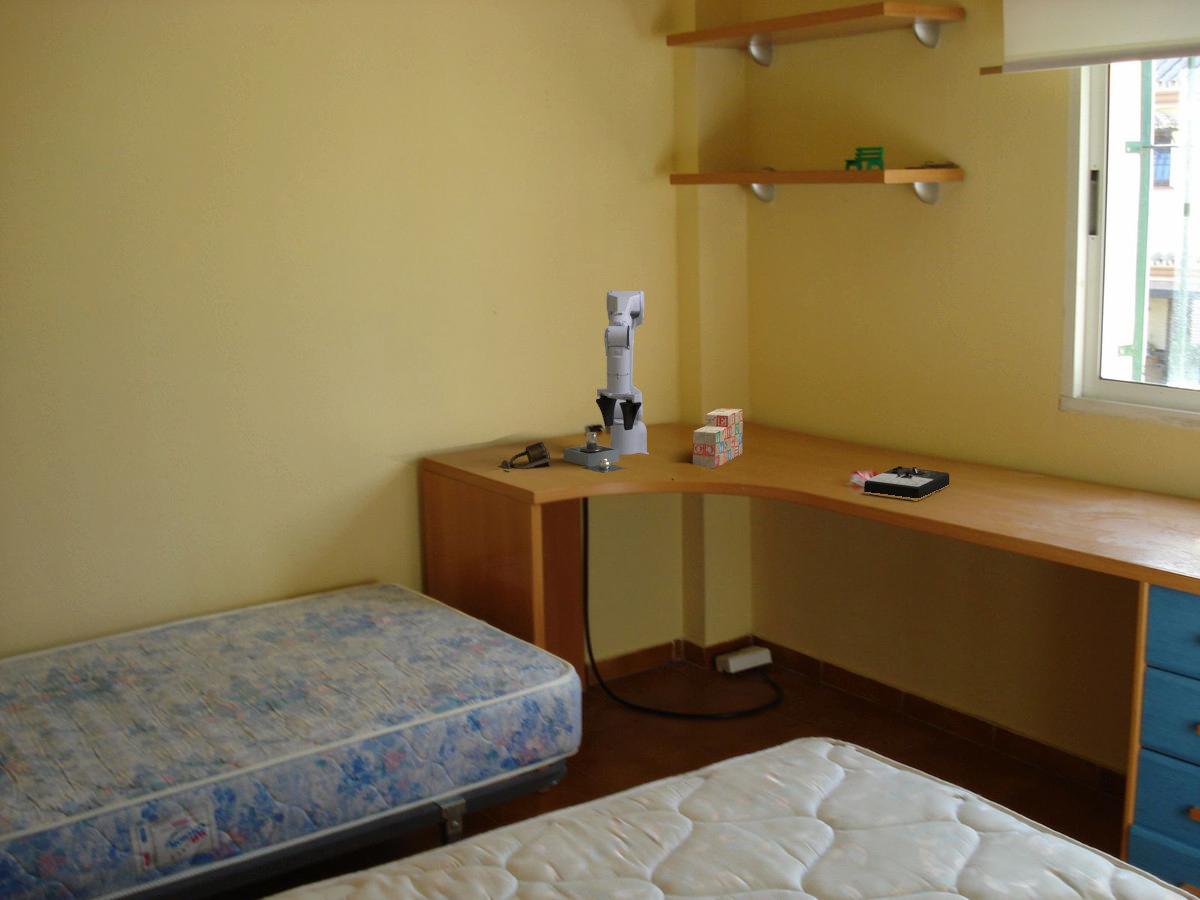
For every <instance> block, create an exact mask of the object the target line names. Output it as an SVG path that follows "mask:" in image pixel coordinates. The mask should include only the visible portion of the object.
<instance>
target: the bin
mask: <svg viewBox="0 0 1200 900" xmlns="http://www.w3.org/2000/svg"><path fill="white" fill-rule="evenodd" d="M586 446H587V445H586V444H585V445H580V446H573V447H565V448H563V461H565V462H569V463H573V464H576V465H581V466H584V467H590V466H595V465H599V461H601V459H602V458H607V459H608V461H610V464H611V463H617V462H620V454H619V449H615V448H611V446H610V447H609V446H606V445H601V444H597V446H598V447H602V448H603V452H597V453H591V454H587V453H583V452H580V448H581V447H586Z"/></svg>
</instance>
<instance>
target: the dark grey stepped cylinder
mask: <svg viewBox="0 0 1200 900" xmlns="http://www.w3.org/2000/svg"><path fill="white" fill-rule="evenodd" d="M585 434H586V444H585V445H587V446H586V447H581V448H580V452H583V453H587V454H591V453H597V452H603V448H602V447H598V446H597V445H598V444H597V443H598V440H597V432H596V431H595V432H594V431H588V432H586V433H585Z"/></svg>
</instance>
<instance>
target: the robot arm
mask: <svg viewBox="0 0 1200 900" xmlns="http://www.w3.org/2000/svg"><path fill="white" fill-rule="evenodd" d="M606 312H607V320H608V326H607V327H605V328H604V332H603V333H604V335H603V336H604V337H603V338H604V339H603V340H604V347H605V356H606V388H604V387H602V388H596V396H597V397H599V398H595V402H596V404H597V406H598V408H599V410H600V412H601V416H602V420H603V423H604V426H605V427H610V434H609V435H610V447H611V448H615V449H619V455H622V456H623V455H634V454H637V453H640V454H645V455H649V454H650V453H649V452H648V451H647V450H648V448H647V447H648V446H647V444H648V438H647V435H648V432H647V431H648V430H647V427H646V425H645V424H644V422H643V421H642V420H643V413H644V412H643V411H644V405H643V404H644V403H643V400H644V399H643V394H642V391H641V390H640V389H638V388H637V387H636V386H634V383H633V381H634V379H633V378H634V377H633V376H634V348H635V347H634V346H635V335H636V330H637V327H639V326H640V325H642V324H643V323H644V318H645V292H644V291H643V290H642V289H639V290H610V289H609V290H608V291H607V293H606Z"/></svg>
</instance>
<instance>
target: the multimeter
mask: <svg viewBox="0 0 1200 900" xmlns="http://www.w3.org/2000/svg"><path fill="white" fill-rule="evenodd" d="M863 484H864V485H863V486H864V488H863V491H864V492H871V493H880V494H888V495H895V496H902V497H910V498H921V497H923V496H925V495H928V494H930V493H932V492H934V491H936V490H939V489H941V488H943V487H945V486H947V485H949V486H950V473H949V472H945V471H936V470H929V469H922V468H921V469H920V468H917V466H912V468H911V467H903V466H902V465H901V466H899V465H898V466H895V467H894V468H892V469H889V470H887V471H885V472H884V471H883V472H882V473H879V474H877V475H874V476H873V477H870V478H868V479H865V481H864V483H863ZM864 492H863V493H864Z"/></svg>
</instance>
